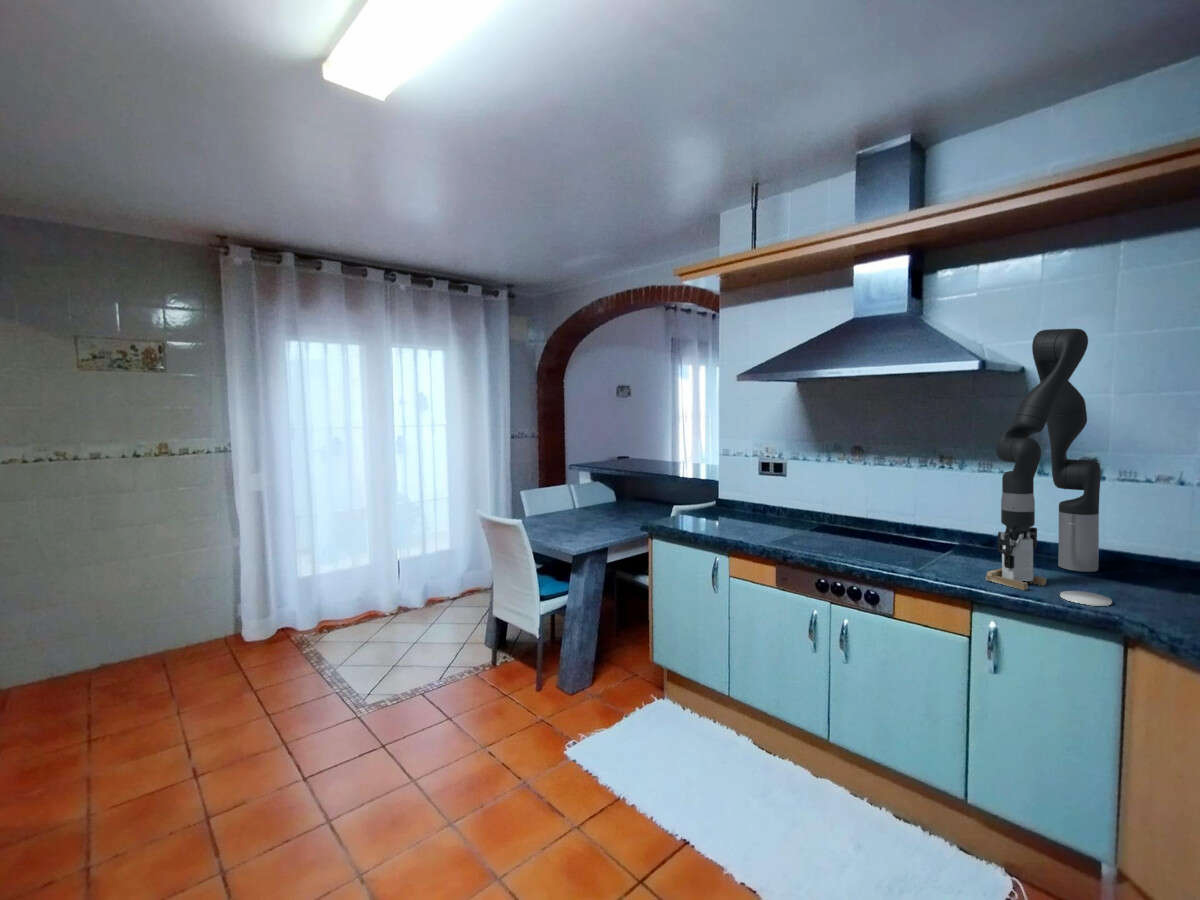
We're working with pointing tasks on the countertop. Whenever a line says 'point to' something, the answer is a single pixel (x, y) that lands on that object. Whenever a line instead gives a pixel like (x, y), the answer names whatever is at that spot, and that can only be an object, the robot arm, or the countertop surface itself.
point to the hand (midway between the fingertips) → (1017, 565)
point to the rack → (997, 578)
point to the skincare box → (1020, 562)
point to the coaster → (1086, 598)
